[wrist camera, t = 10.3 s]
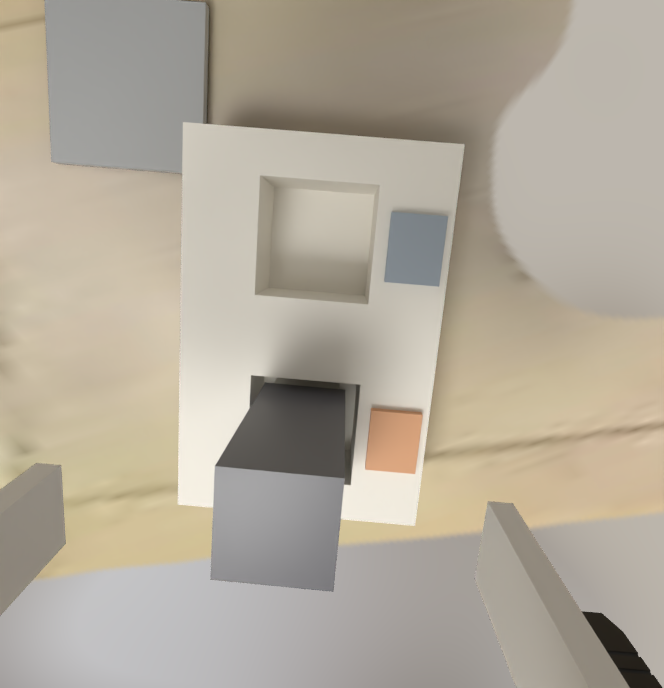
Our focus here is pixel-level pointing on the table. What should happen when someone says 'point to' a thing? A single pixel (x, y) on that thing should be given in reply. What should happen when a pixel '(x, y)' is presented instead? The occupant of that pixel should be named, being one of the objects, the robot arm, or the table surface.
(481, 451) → the table surface
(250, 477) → the grey tall block
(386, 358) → the socket block
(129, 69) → the mat
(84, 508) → the table surface
